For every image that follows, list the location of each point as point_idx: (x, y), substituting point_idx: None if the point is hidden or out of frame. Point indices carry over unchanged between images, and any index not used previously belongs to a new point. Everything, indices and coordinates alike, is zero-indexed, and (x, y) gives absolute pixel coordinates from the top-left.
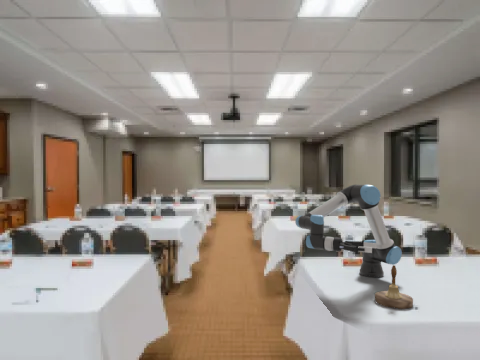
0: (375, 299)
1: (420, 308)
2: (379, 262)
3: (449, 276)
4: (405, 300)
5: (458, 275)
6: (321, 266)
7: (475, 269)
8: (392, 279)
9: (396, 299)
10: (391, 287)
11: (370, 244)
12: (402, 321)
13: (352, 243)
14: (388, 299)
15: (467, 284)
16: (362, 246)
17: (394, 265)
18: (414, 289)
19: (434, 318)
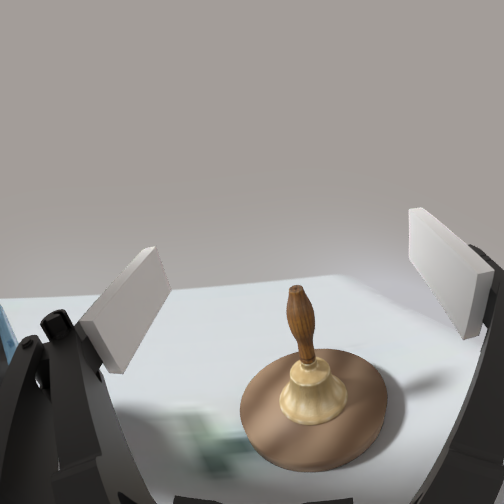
0: (350, 458)
1: (323, 346)
2: None
3: (38, 321)
4: (334, 362)
5: (36, 312)
6: None
7: (16, 298)
8: (311, 349)
9: (344, 383)
10: (329, 373)
11: (139, 287)
12: (467, 344)
13: (118, 478)
14: (365, 401)
15: (87, 302)
16: (103, 380)
17: (290, 288)
18: (130, 375)
19: (381, 313)
